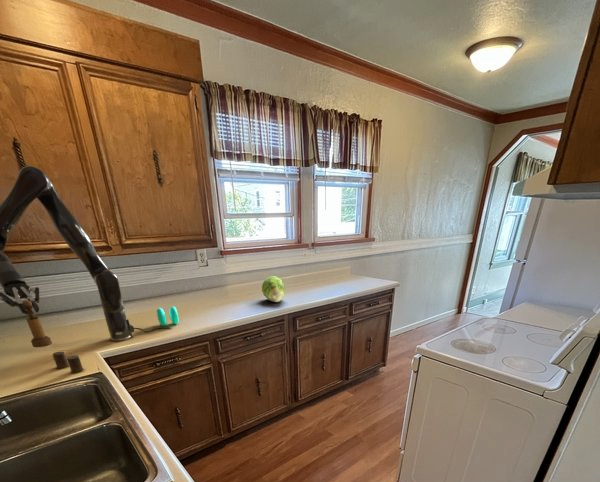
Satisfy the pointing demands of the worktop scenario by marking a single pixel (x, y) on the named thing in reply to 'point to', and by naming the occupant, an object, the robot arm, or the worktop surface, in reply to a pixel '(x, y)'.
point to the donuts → (162, 316)
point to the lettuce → (273, 289)
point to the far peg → (75, 364)
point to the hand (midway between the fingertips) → (31, 311)
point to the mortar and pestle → (36, 328)
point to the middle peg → (60, 360)
